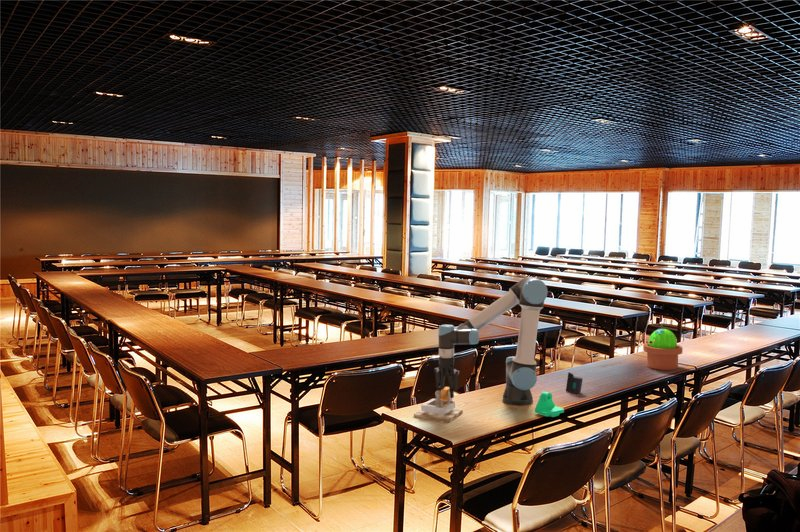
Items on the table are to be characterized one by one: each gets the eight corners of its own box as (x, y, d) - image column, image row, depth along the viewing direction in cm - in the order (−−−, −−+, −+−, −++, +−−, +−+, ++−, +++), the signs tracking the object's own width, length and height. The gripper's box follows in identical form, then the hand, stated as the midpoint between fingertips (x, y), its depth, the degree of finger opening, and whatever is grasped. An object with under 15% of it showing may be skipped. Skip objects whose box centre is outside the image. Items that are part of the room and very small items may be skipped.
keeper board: (429, 407, 291) (429, 384, 290) (462, 413, 282) (462, 388, 281) (413, 416, 277) (413, 392, 277) (448, 422, 268) (448, 397, 268)
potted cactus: (669, 362, 380) (670, 324, 378) (688, 370, 358) (689, 330, 357) (637, 363, 378) (637, 325, 377) (654, 371, 357) (654, 331, 355)
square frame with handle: (444, 414, 271) (443, 397, 271) (421, 411, 277) (421, 394, 277) (460, 404, 287) (460, 388, 286) (438, 401, 293) (438, 385, 292)
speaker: (566, 393, 312) (568, 374, 312) (565, 390, 318) (567, 372, 318) (581, 395, 311) (583, 376, 311) (580, 392, 317) (582, 373, 316)
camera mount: (546, 419, 272) (546, 397, 272) (534, 414, 279) (534, 393, 278) (564, 414, 279) (564, 393, 278) (552, 410, 285) (552, 389, 285)
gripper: (428, 356, 287) (428, 403, 289) (458, 359, 279) (458, 408, 281) (435, 353, 294) (435, 399, 295) (464, 356, 286) (465, 403, 287)
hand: (446, 403), depth 288 cm, fingers closed on square frame with handle, 3 cm apart
